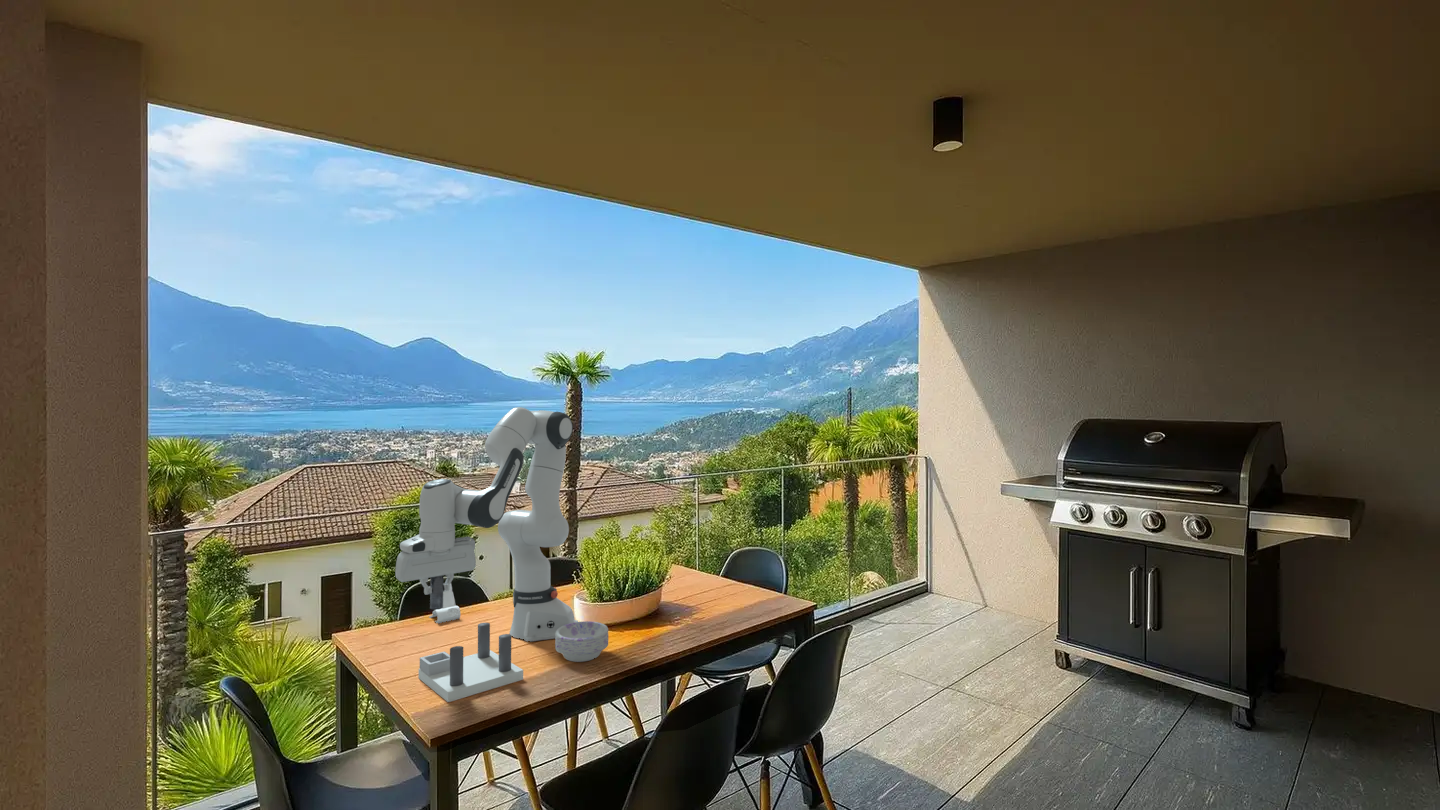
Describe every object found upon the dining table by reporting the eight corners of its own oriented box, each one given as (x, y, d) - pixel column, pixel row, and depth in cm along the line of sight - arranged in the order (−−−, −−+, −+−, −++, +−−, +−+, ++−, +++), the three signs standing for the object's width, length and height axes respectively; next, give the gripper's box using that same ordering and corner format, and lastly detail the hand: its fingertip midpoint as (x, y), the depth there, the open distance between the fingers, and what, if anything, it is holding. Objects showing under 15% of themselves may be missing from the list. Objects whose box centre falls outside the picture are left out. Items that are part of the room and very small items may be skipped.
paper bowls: (560, 669, 183) (560, 641, 183) (551, 651, 197) (551, 624, 197) (614, 661, 189) (614, 633, 189) (601, 644, 203) (601, 618, 203)
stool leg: (444, 605, 179) (444, 572, 179) (441, 609, 176) (442, 575, 176) (431, 606, 179) (432, 572, 179) (428, 609, 176) (429, 575, 176)
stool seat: (490, 658, 191) (490, 618, 191) (523, 679, 177) (523, 636, 177) (418, 678, 177) (418, 635, 177) (448, 702, 163) (448, 655, 163)
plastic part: (437, 624, 221) (438, 590, 221) (427, 617, 228) (427, 584, 228) (460, 620, 226) (460, 586, 226) (449, 613, 233) (449, 580, 233)
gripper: (470, 534, 187) (469, 583, 187) (393, 544, 173) (392, 597, 173) (479, 537, 182) (479, 587, 182) (401, 547, 168) (401, 602, 168)
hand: (436, 592), depth 177 cm, fingers closed on stool leg, 3 cm apart
